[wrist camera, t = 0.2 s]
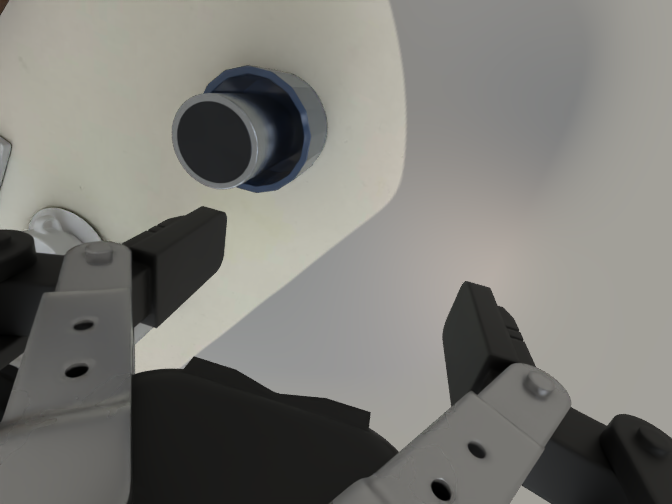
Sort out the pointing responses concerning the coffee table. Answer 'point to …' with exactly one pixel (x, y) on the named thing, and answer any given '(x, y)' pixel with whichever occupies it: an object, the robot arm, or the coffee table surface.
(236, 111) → the silver cup
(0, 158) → the smartphone
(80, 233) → the teacup
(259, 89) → the bucket
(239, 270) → the coffee table surface
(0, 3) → the tray
